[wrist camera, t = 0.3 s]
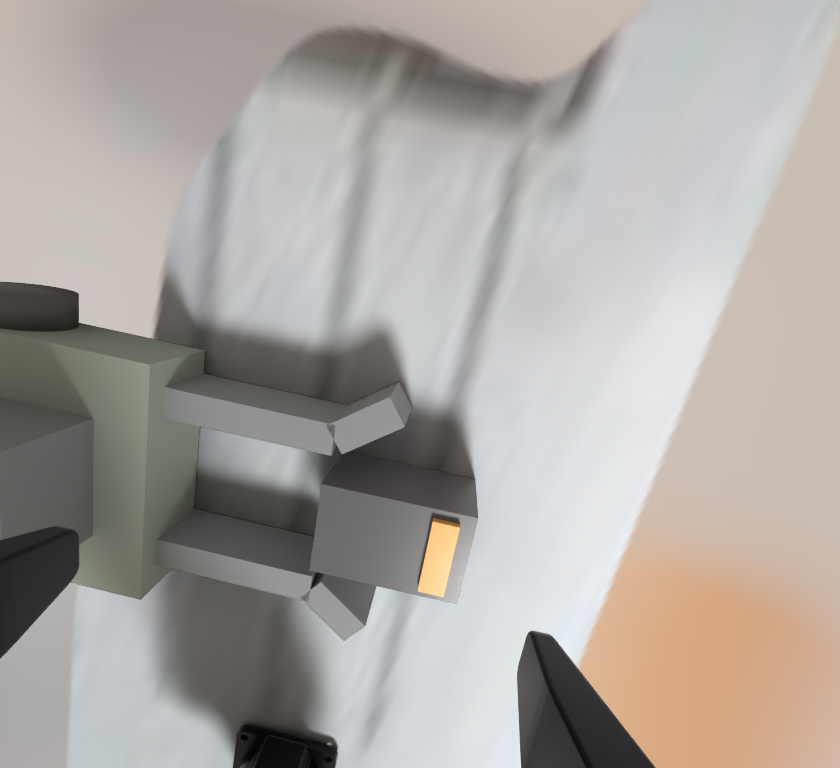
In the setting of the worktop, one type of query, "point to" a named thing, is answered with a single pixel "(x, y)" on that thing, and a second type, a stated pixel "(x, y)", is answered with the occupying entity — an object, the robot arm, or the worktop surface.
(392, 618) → the worktop surface
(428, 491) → the grey rectangular block
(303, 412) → the grey blocky piece
